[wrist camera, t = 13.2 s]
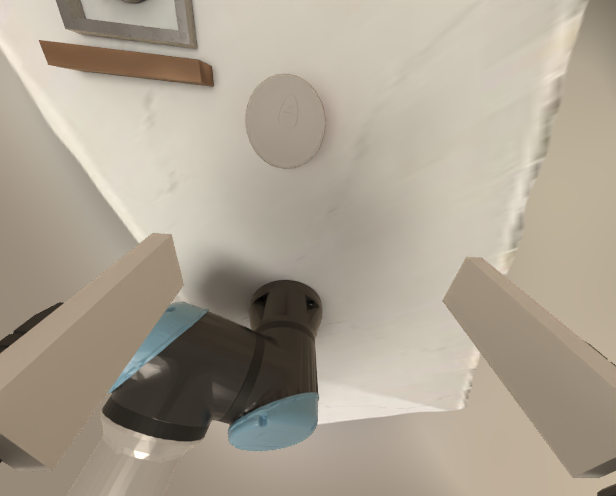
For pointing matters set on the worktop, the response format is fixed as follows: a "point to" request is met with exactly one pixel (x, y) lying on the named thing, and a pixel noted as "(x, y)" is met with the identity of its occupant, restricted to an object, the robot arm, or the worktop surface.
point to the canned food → (285, 121)
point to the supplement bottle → (132, 0)
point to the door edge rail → (127, 63)
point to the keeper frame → (132, 26)
